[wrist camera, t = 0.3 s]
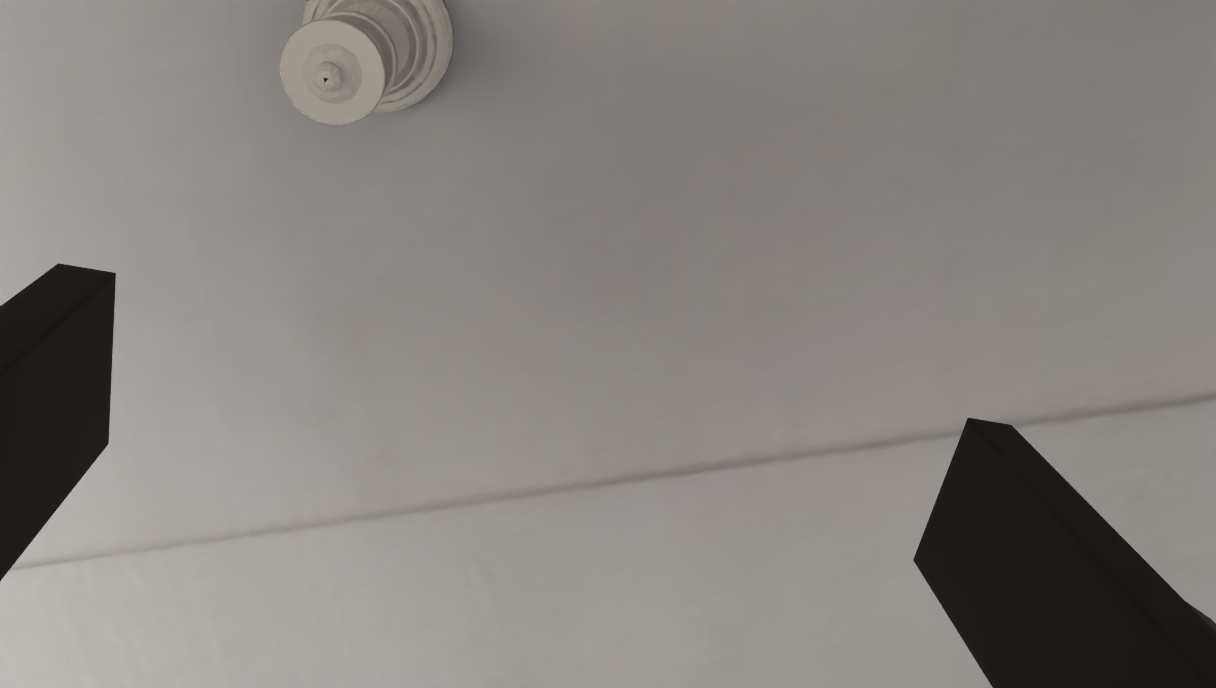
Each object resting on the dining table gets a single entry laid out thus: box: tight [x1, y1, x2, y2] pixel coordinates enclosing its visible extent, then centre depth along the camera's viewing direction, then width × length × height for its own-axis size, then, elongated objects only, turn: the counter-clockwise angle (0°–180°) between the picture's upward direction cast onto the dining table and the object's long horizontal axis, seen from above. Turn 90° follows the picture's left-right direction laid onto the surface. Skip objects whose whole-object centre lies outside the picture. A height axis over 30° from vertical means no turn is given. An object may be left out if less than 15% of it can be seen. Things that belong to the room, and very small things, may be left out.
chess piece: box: [280, 0, 453, 125], centre depth 27 cm, size 4×4×10 cm
